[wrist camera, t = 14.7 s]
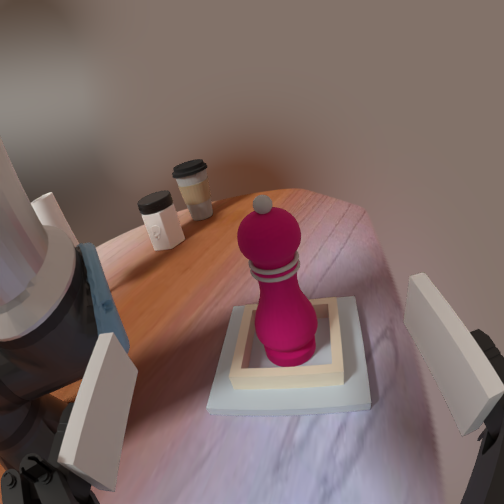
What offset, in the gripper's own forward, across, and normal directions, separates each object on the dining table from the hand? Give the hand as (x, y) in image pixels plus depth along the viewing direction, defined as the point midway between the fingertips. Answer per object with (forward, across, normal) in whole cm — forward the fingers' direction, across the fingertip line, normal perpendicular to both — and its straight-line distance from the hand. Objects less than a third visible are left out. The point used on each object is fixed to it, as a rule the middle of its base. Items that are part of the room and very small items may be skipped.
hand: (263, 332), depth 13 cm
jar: (+59, -22, -23) cm, 67 cm away
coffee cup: (+70, -15, -23) cm, 76 cm away
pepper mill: (+17, +1, -21) cm, 27 cm away
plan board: (+17, +1, -22) cm, 28 cm away
